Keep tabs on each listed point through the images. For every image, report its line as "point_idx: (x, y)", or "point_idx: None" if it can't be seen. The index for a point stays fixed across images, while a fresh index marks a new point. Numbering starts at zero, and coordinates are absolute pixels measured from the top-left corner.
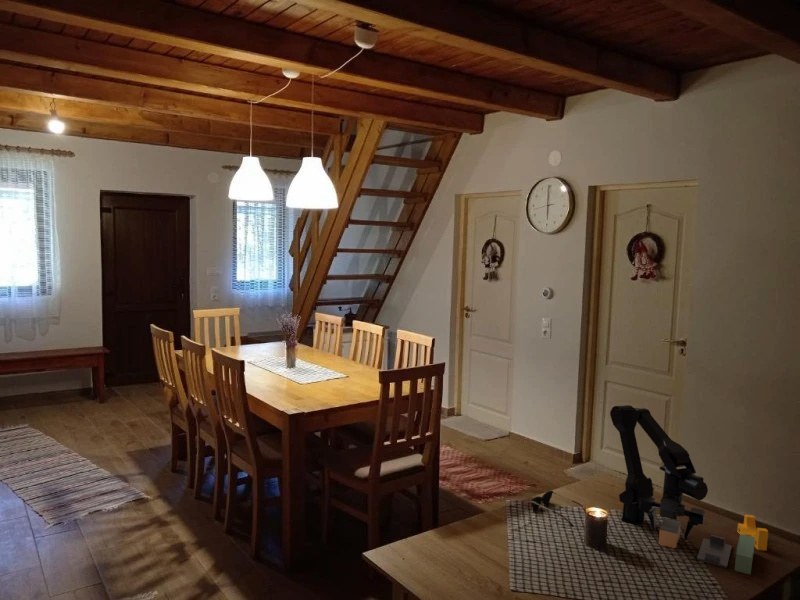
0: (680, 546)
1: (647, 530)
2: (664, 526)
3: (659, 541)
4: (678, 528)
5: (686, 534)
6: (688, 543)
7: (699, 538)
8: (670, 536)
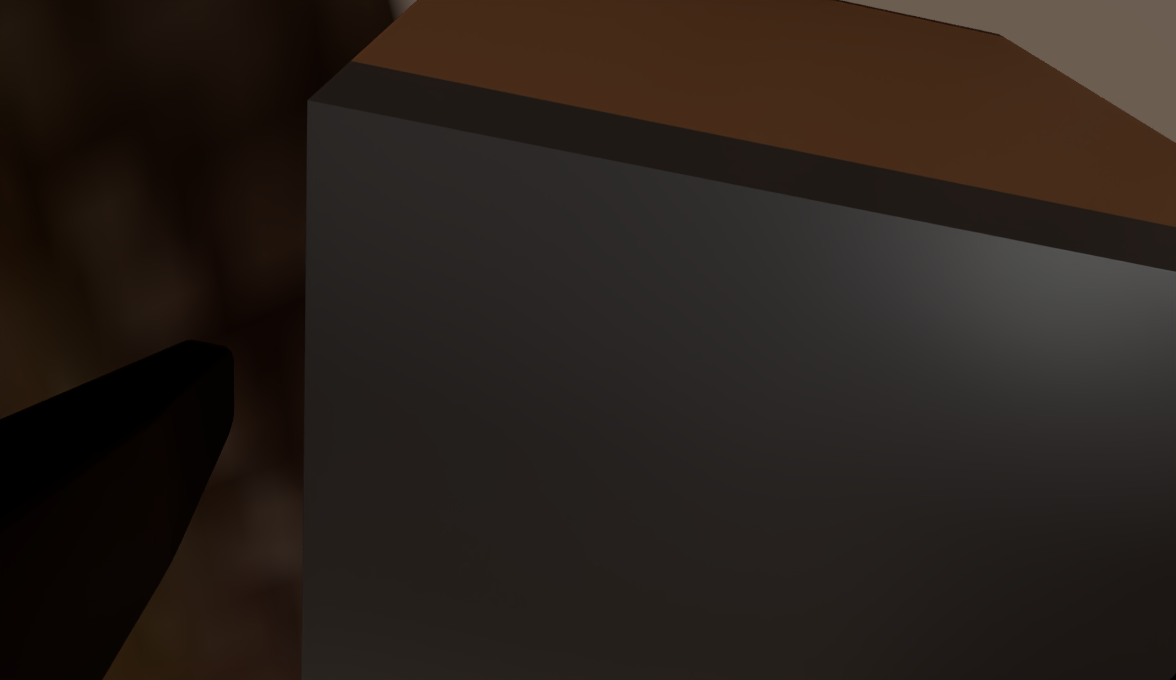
0: None
1: None
2: (1043, 572)
3: (1023, 60)
4: (309, 619)
5: (45, 439)
6: None
7: None
8: (710, 68)
